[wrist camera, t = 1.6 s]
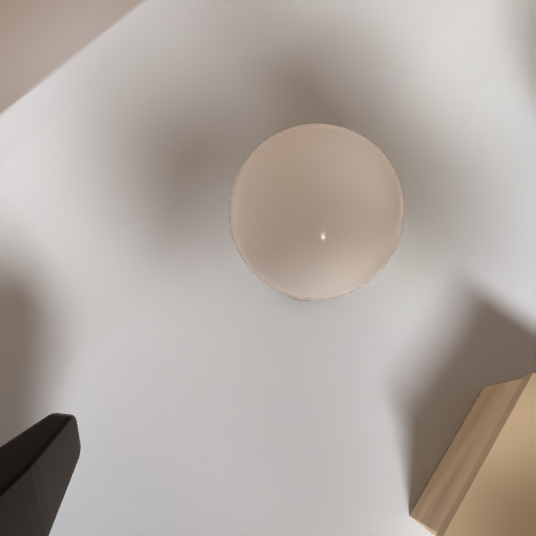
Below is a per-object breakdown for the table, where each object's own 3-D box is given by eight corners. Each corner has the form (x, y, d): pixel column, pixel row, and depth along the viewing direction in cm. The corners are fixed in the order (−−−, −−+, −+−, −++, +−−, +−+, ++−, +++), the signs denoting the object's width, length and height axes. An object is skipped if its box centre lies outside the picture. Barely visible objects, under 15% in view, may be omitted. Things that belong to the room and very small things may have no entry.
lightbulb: (354, 350, 23) (420, 282, 13) (231, 326, 23) (197, 242, 13) (369, 236, 25) (436, 97, 15) (255, 216, 26) (243, 70, 15)
